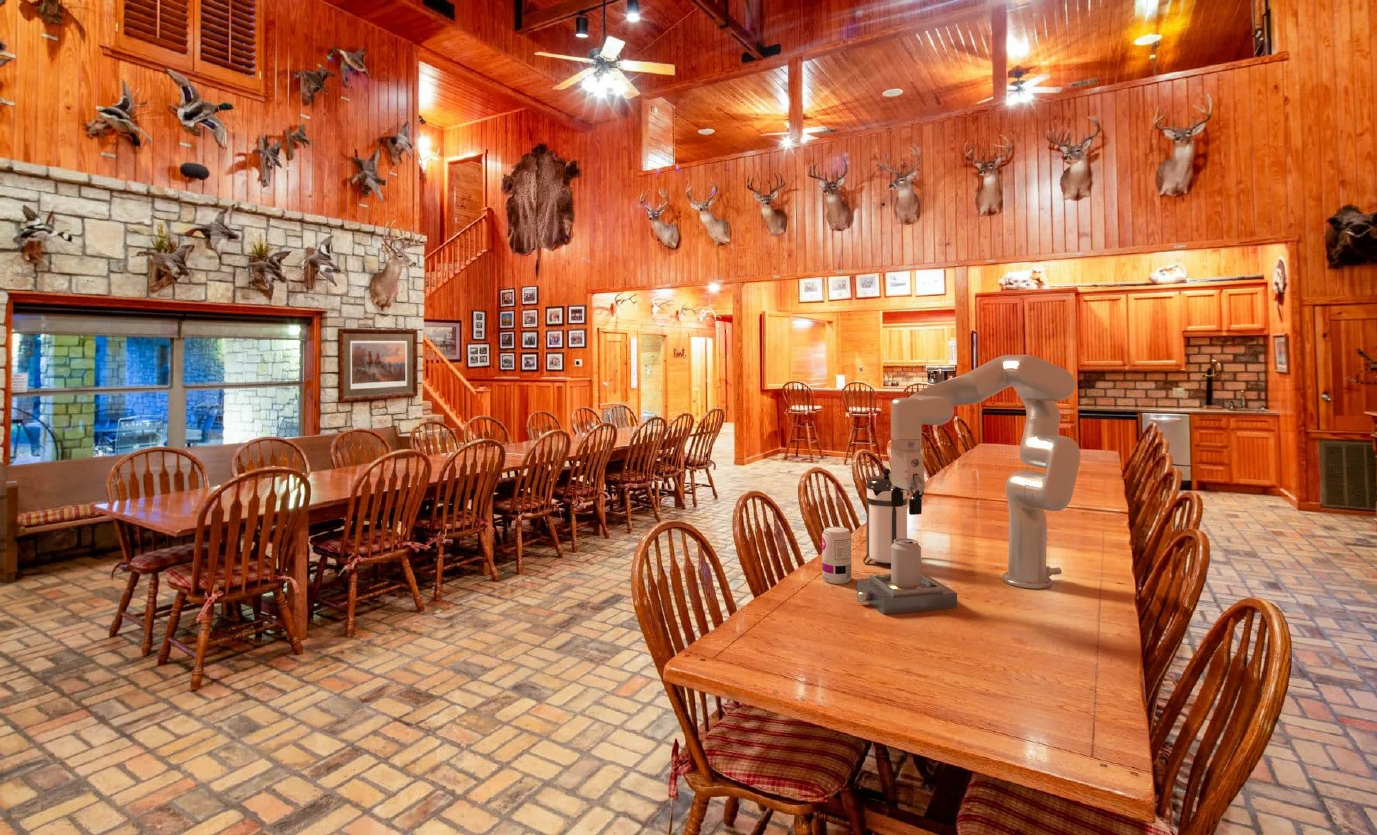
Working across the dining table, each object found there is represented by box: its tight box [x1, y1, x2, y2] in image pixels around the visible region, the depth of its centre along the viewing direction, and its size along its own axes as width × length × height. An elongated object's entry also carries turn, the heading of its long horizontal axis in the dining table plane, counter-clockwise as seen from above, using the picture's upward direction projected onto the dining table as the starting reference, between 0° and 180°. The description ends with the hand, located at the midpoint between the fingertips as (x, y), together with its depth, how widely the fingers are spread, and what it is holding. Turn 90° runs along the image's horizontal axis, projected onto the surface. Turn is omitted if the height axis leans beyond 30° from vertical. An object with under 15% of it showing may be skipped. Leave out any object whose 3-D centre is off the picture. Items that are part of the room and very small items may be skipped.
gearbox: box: [856, 573, 958, 616], centre depth 178 cm, size 23×16×5 cm
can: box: [890, 537, 922, 589], centre depth 177 cm, size 8×8×12 cm
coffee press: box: [862, 467, 909, 565], centre depth 212 cm, size 17×16×30 cm
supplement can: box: [821, 526, 852, 585], centre depth 195 cm, size 8×8×15 cm
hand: (906, 510), depth 176 cm, fingers open, 9 cm apart
